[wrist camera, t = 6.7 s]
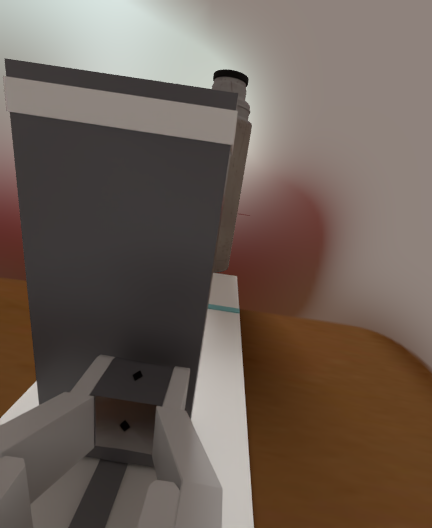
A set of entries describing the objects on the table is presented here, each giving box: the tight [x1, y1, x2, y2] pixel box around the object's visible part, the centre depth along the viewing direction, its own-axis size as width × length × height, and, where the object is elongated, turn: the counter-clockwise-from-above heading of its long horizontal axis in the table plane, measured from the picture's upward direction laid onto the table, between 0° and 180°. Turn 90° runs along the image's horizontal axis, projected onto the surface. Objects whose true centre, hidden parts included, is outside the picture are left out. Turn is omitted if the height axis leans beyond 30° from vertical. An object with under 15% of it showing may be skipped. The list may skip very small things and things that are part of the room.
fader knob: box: [3, 59, 238, 468], centre depth 10 cm, size 6×3×14 cm, turn 87°
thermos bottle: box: [212, 70, 252, 272], centre depth 40 cm, size 8×8×28 cm
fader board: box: [0, 273, 254, 528], centre depth 20 cm, size 12×32×2 cm, turn 177°
